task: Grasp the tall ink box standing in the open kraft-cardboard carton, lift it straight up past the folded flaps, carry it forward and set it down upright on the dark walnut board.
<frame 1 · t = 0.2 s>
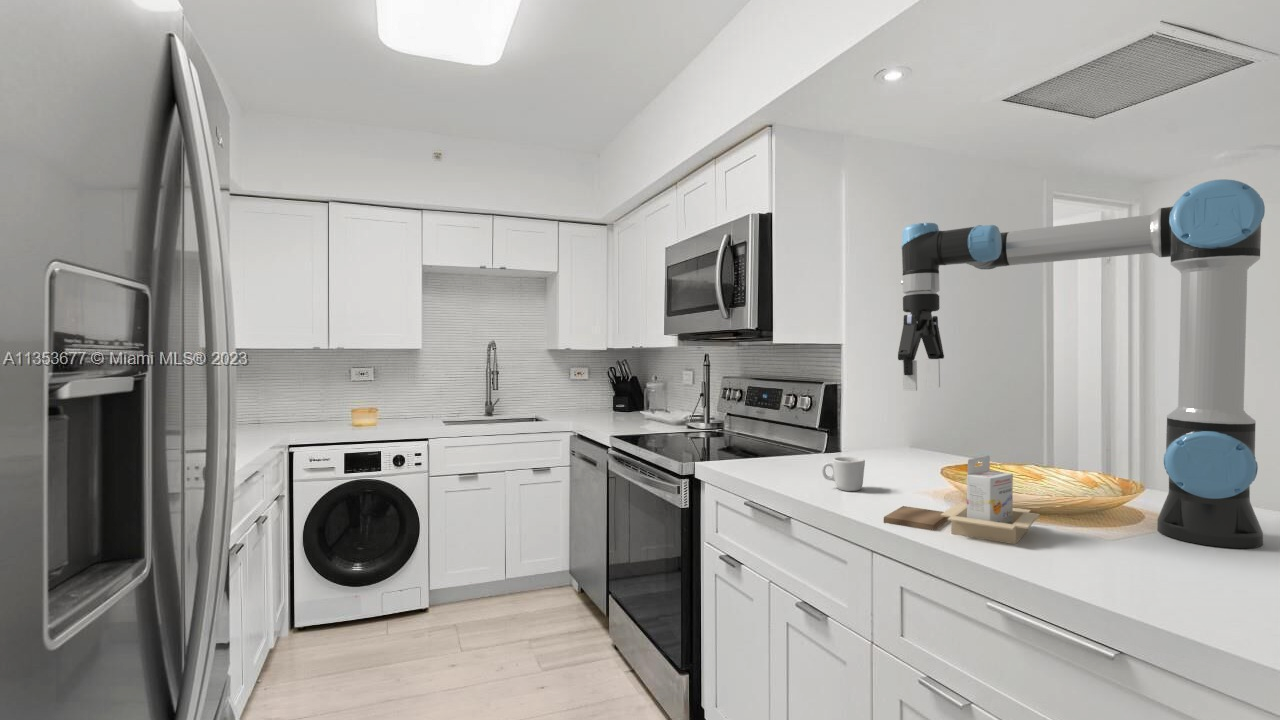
hand: (922, 388, 144), 28 cm above the countertop, fingers open, 13 cm apart
carton: (990, 531, 129), on the countertop
cup: (843, 489, 169), on the countertop
walnut board: (917, 520, 138), on the countertop
ink box: (990, 532, 129), resting in carton
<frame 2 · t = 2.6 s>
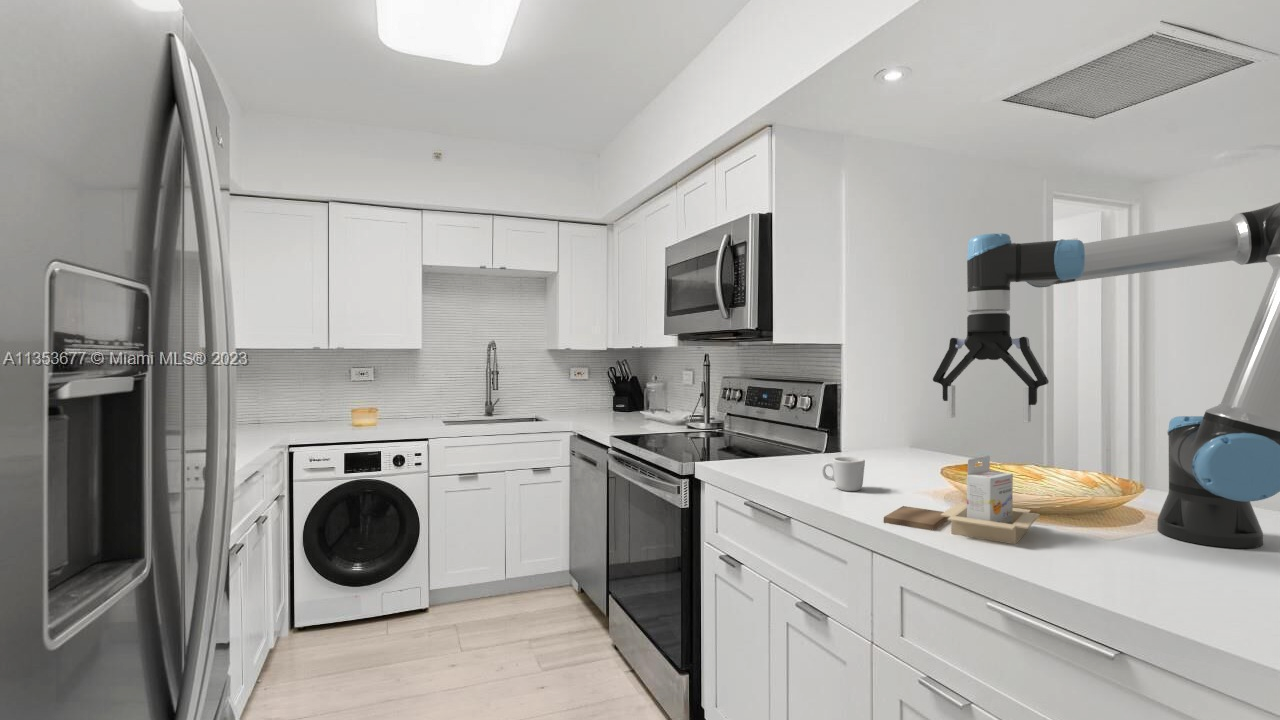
hand: (987, 419, 129), 22 cm above the countertop, fingers open, 13 cm apart
nothing on the countertop moved.
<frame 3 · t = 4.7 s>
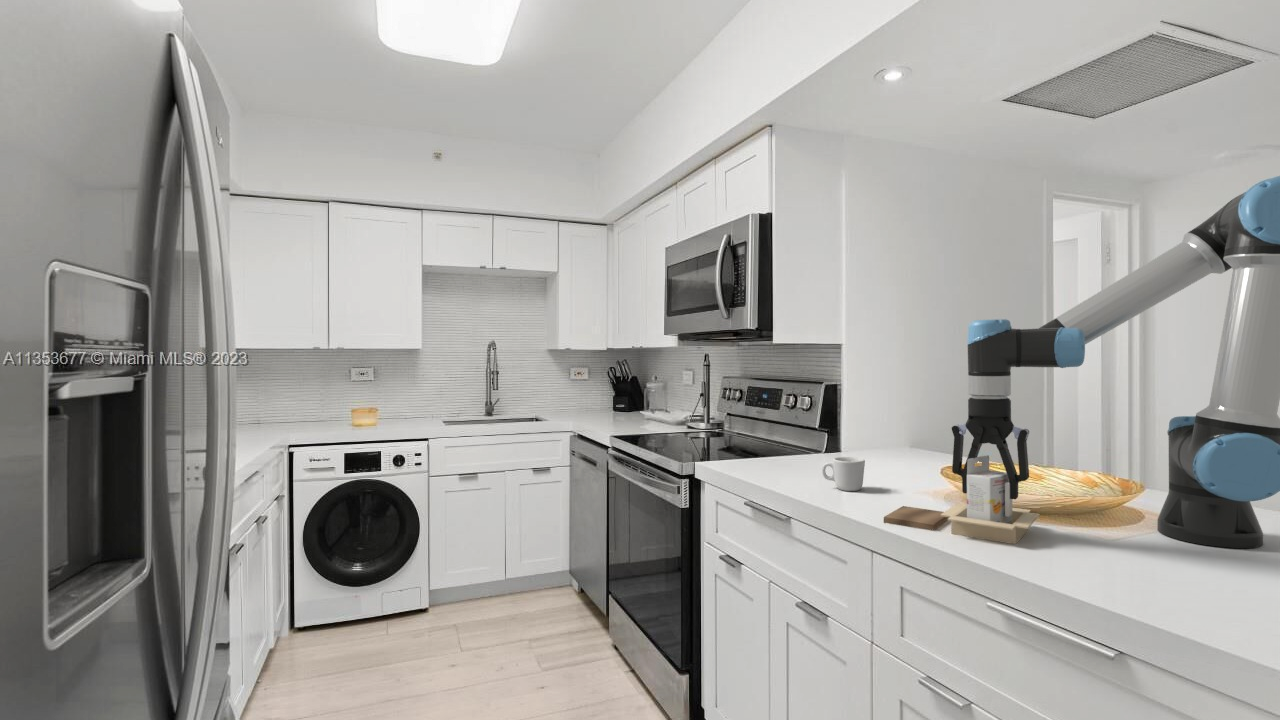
hand: (989, 512, 129), 4 cm above the countertop, fingers closed on ink box, 6 cm apart
ink box: (990, 532, 129), resting in carton, touching gripper
everything else where it was.
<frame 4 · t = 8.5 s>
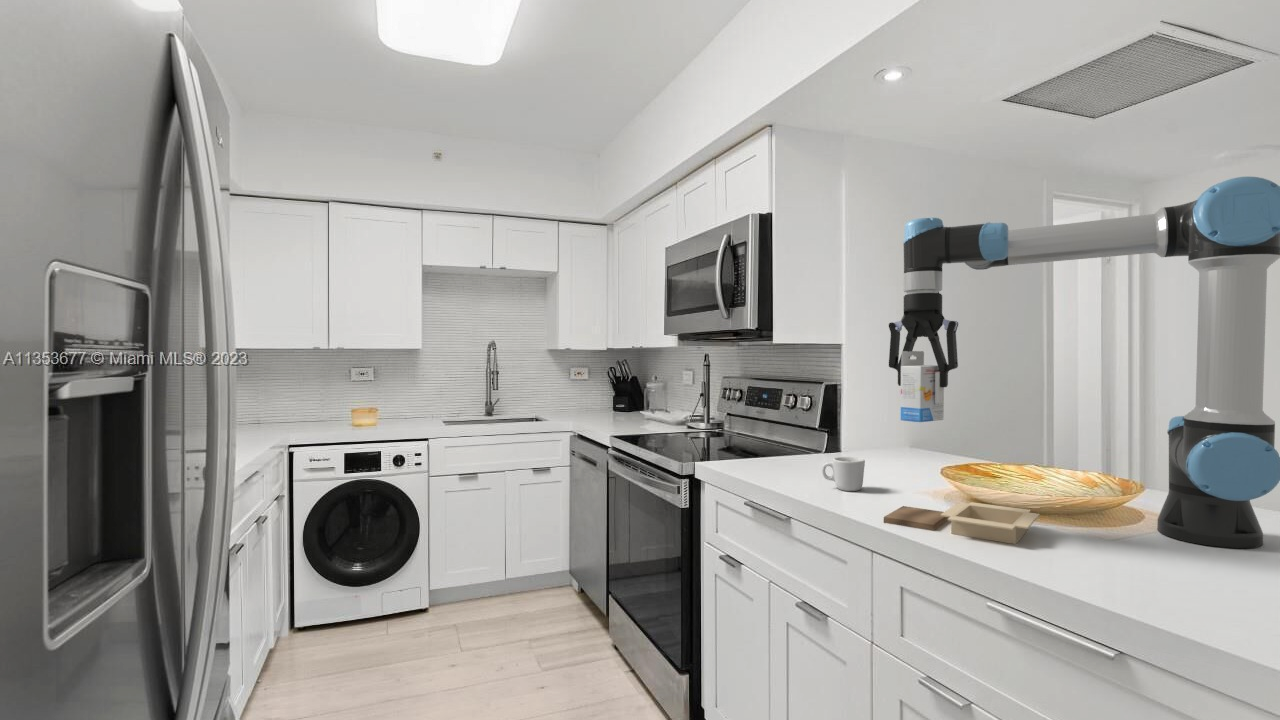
hand: (922, 402, 137), 25 cm above the countertop, fingers closed on ink box, 6 cm apart
ink box: (922, 421, 137), point 21 cm above the countertop, touching gripper
everything else where it was.
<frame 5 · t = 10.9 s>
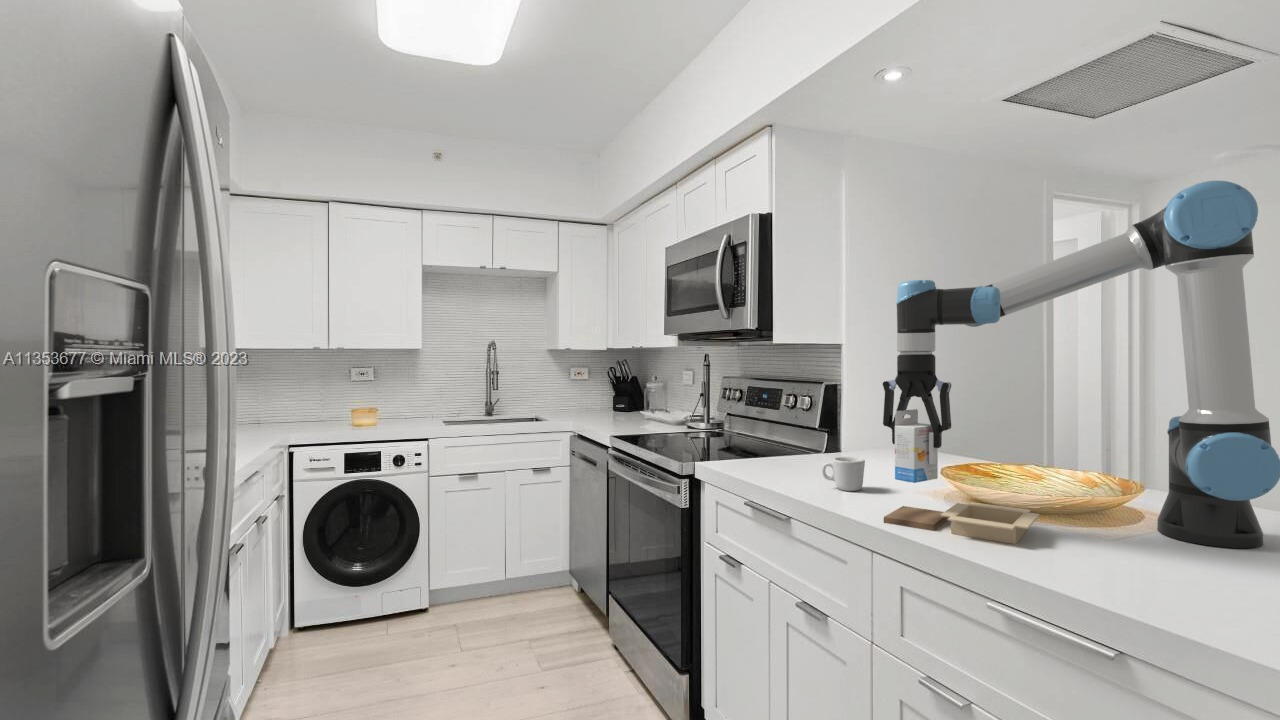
hand: (916, 461, 138), 13 cm above the countertop, fingers closed on ink box, 6 cm apart
ink box: (916, 480, 138), point 9 cm above the countertop, touching gripper
everything else where it was.
when the fingers open (6 cm above the countertop, at t = 12.5 s): ink box drops 1 cm, resting on walnut board.
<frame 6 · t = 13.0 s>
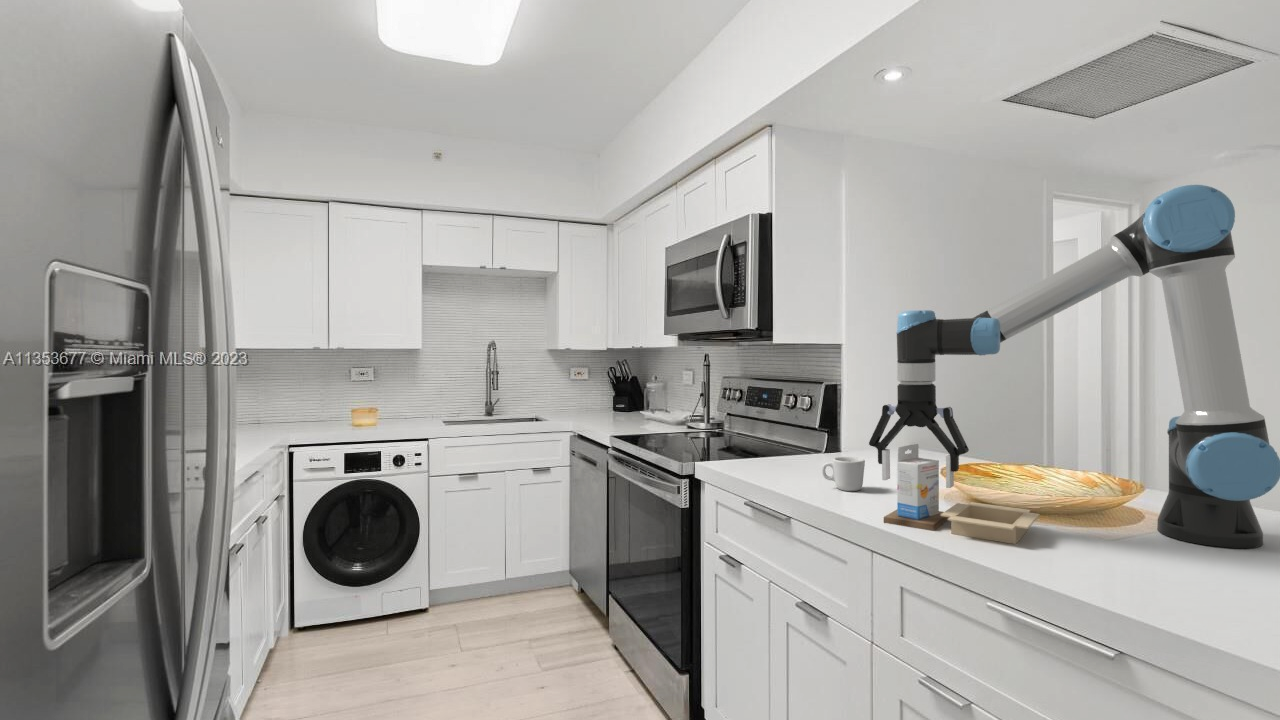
hand: (917, 483, 138), 8 cm above the countertop, fingers open, 12 cm apart
ink box: (918, 515, 138), point 1 cm above the countertop, touching walnut board
everything else where it was.
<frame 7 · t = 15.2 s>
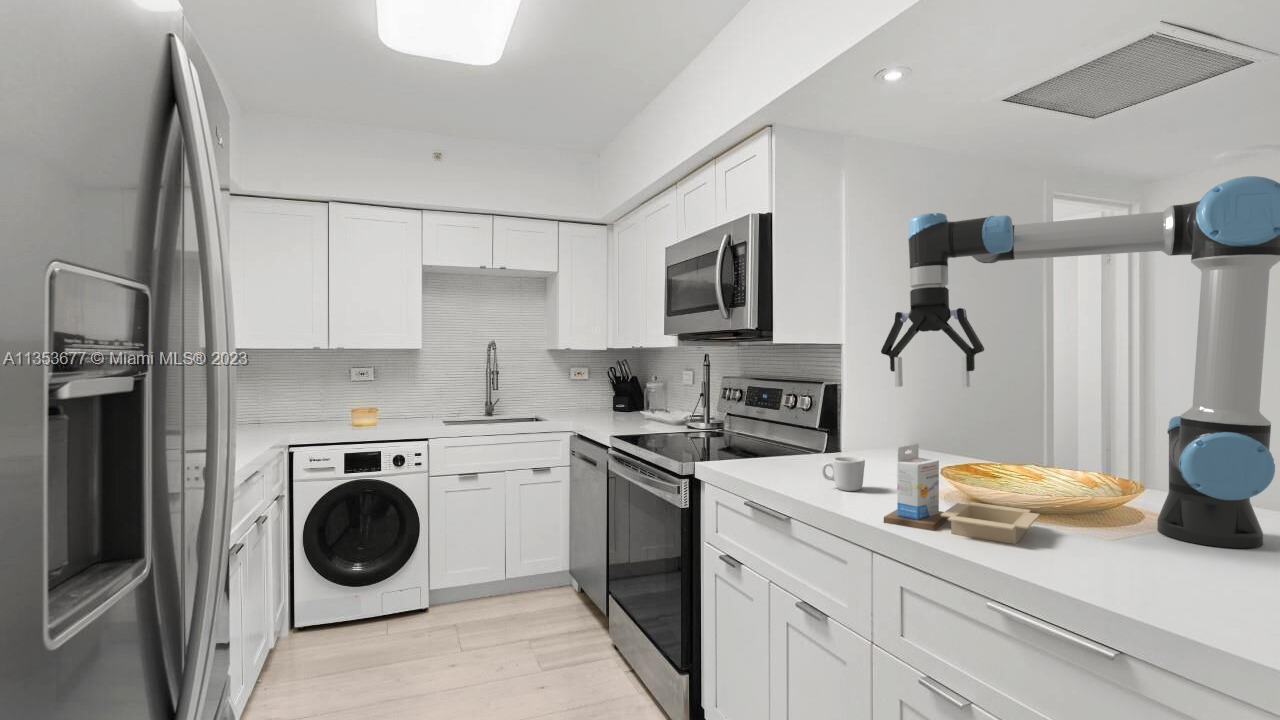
hand: (931, 387, 138), 29 cm above the countertop, fingers open, 13 cm apart
nothing on the countertop moved.
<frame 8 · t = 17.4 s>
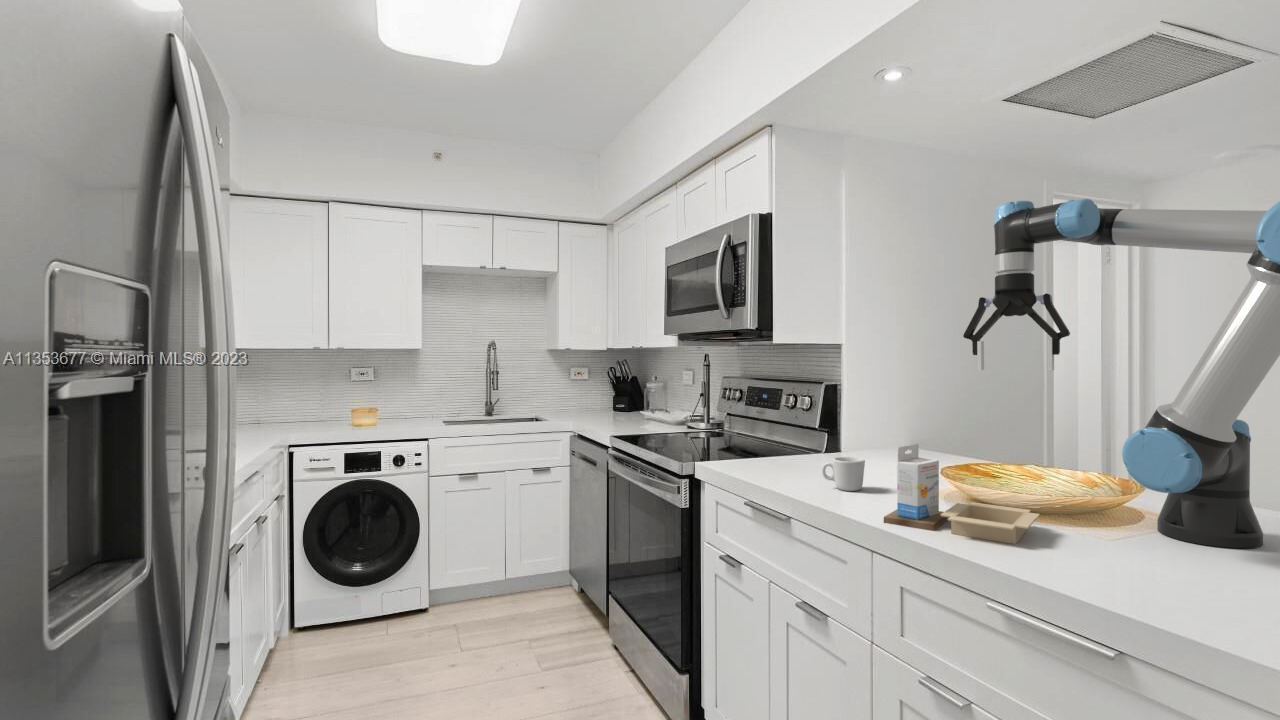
hand: (1014, 370, 142), 32 cm above the countertop, fingers open, 13 cm apart
nothing on the countertop moved.
at the end: ink box inside the target area on the walnut board (0.2 cm from its centre), point 1.0 cm above the walnut board's base; ink box tilted 0°; the gripper is holding nothing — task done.
